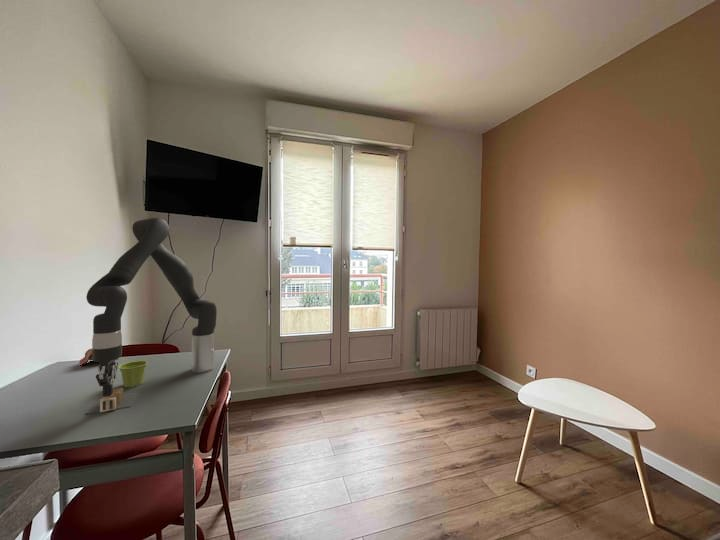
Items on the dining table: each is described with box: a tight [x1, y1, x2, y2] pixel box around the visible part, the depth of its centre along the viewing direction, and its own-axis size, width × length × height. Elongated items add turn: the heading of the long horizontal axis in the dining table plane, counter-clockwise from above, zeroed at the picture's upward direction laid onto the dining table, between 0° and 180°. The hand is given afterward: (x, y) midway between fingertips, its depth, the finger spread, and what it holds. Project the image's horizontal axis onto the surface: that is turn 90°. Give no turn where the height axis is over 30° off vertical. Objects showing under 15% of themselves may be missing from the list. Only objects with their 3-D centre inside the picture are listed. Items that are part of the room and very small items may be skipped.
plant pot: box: [118, 360, 148, 388], centre depth 118 cm, size 9×9×9 cm
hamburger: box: [78, 348, 92, 366], centre depth 142 cm, size 16×13×10 cm
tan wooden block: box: [99, 387, 124, 413], centre depth 101 cm, size 4×4×9 cm
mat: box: [85, 391, 140, 415], centre depth 103 cm, size 12×12×1 cm
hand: (107, 395), depth 96 cm, fingers closed
